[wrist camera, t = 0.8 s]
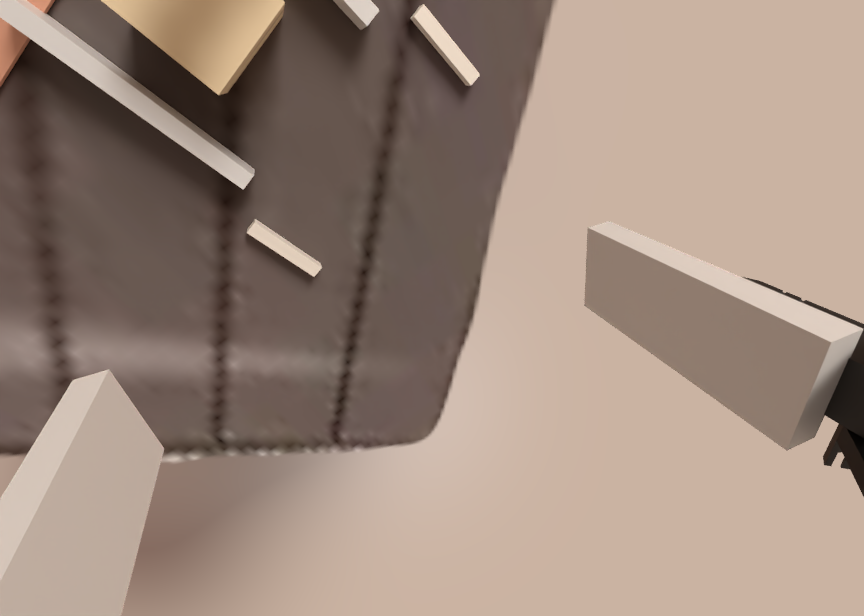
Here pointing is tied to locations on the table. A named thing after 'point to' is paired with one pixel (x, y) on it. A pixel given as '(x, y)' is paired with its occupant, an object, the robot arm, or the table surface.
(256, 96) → the table surface
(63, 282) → the table surface
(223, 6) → the maple block
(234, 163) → the guide rails
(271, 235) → the strips
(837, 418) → the robot arm
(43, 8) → the mat
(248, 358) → the table surface
